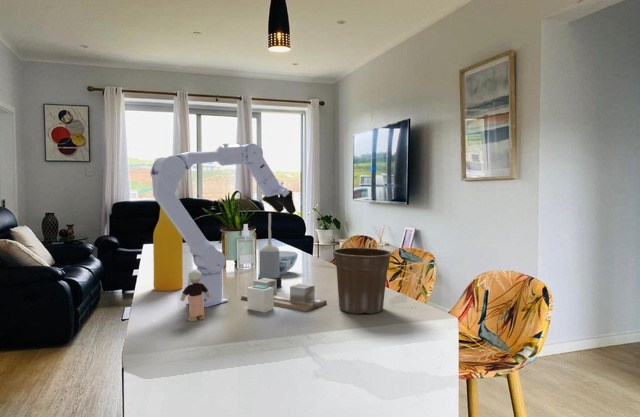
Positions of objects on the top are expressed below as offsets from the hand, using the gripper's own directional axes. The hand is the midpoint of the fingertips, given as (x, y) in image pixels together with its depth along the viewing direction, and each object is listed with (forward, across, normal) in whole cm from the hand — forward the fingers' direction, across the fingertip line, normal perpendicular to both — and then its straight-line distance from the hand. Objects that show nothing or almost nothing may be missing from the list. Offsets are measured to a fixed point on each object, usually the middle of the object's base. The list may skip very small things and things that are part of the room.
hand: (287, 211), depth 147 cm
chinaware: (+29, +28, +6) cm, 41 cm away
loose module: (+10, -16, +29) cm, 35 cm away
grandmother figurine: (-1, -16, +44) cm, 47 cm away
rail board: (+15, -13, +22) cm, 30 cm away
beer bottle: (+2, +23, +41) cm, 47 cm away
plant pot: (+24, -32, +11) cm, 41 cm away
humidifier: (+20, +8, +17) cm, 28 cm away
